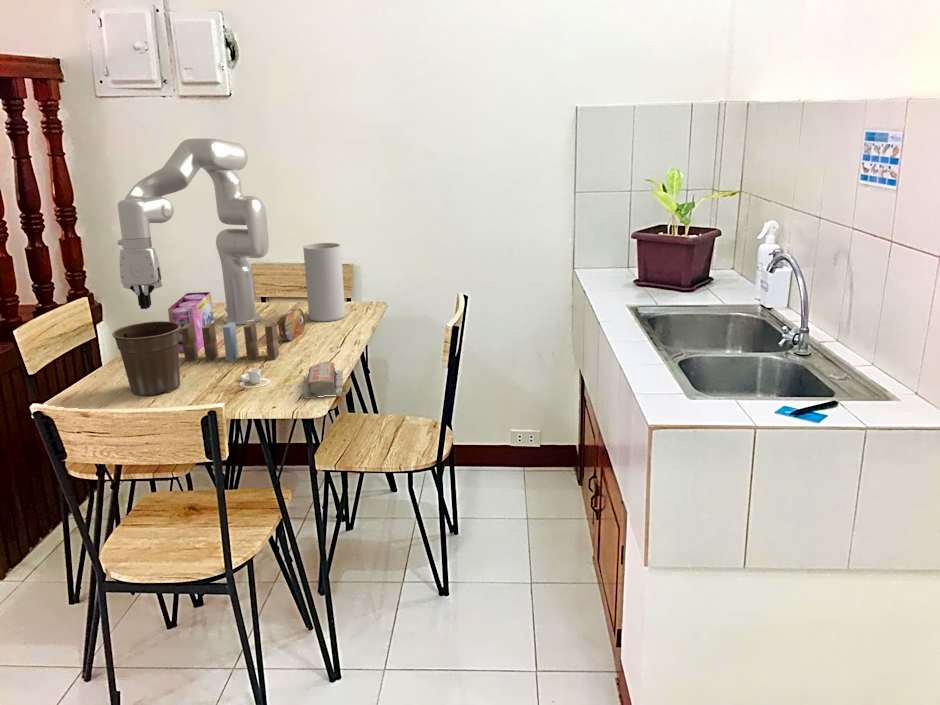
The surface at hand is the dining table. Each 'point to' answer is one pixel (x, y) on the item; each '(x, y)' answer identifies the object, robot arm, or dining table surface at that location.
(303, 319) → the tin
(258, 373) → the teacup and saucer
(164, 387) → the plant pot
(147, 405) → the dining table surface
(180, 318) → the gum box
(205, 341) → the domino
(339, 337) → the dining table surface
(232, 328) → the domino
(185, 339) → the domino
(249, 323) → the domino
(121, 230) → the robot arm
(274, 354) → the domino
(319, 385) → the packaged product
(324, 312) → the cylinder vase
